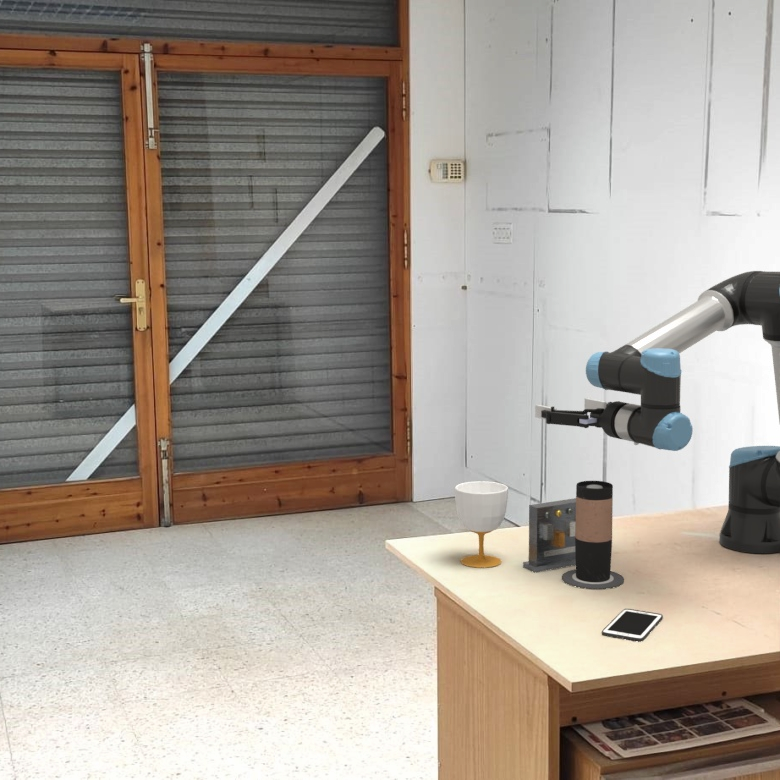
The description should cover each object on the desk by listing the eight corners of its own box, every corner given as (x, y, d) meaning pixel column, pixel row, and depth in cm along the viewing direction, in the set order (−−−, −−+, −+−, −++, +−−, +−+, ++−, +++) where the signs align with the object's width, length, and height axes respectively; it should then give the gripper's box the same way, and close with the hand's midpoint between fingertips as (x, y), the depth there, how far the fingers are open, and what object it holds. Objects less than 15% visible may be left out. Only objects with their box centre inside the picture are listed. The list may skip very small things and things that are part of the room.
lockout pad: (633, 576, 239) (633, 573, 239) (610, 593, 228) (610, 590, 228) (576, 566, 246) (576, 564, 246) (551, 582, 235) (551, 580, 235)
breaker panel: (582, 556, 253) (583, 496, 251) (596, 562, 249) (597, 501, 247) (523, 567, 246) (523, 504, 244) (536, 573, 242) (537, 510, 240)
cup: (516, 566, 247) (517, 490, 244) (467, 572, 243) (467, 495, 240) (493, 552, 258) (494, 479, 255) (446, 557, 254) (446, 483, 251)
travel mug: (567, 574, 239) (568, 482, 236) (598, 569, 242) (599, 479, 239) (587, 584, 232) (589, 490, 229) (618, 580, 235) (620, 486, 232)
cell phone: (600, 637, 205) (600, 632, 205) (624, 612, 218) (624, 607, 218) (641, 644, 202) (641, 639, 202) (664, 619, 214) (664, 614, 214)
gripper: (578, 447, 224) (515, 430, 242) (672, 432, 236) (605, 417, 254) (578, 410, 223) (515, 396, 241) (672, 397, 235) (605, 385, 253)
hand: (561, 407), depth 248 cm, fingers open, 13 cm apart
